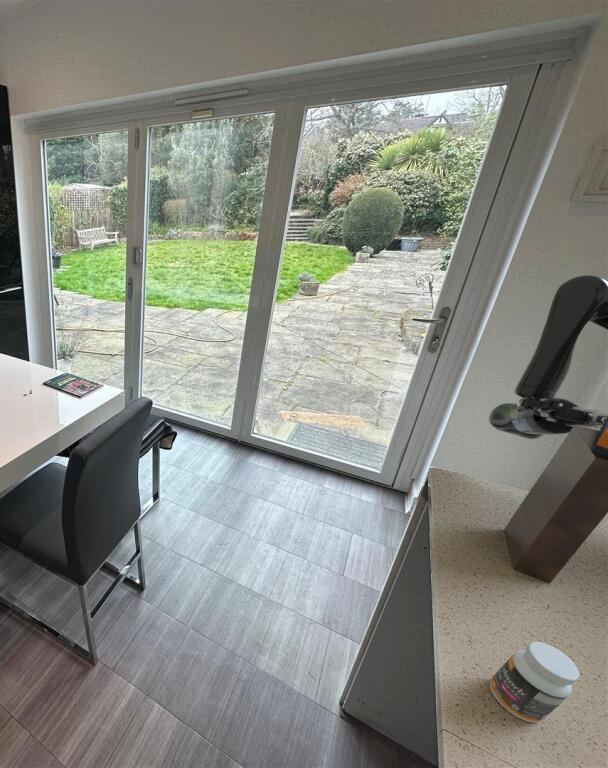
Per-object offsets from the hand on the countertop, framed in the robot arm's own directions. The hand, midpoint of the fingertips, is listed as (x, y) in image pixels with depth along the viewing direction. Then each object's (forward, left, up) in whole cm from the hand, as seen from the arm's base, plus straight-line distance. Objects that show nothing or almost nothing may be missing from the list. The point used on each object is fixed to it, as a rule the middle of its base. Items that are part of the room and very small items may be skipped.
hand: (588, 411), depth 75 cm
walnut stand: (0, +11, -27) cm, 29 cm away
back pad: (-2, +9, -1) cm, 9 cm away
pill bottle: (+6, +46, -27) cm, 54 cm away
